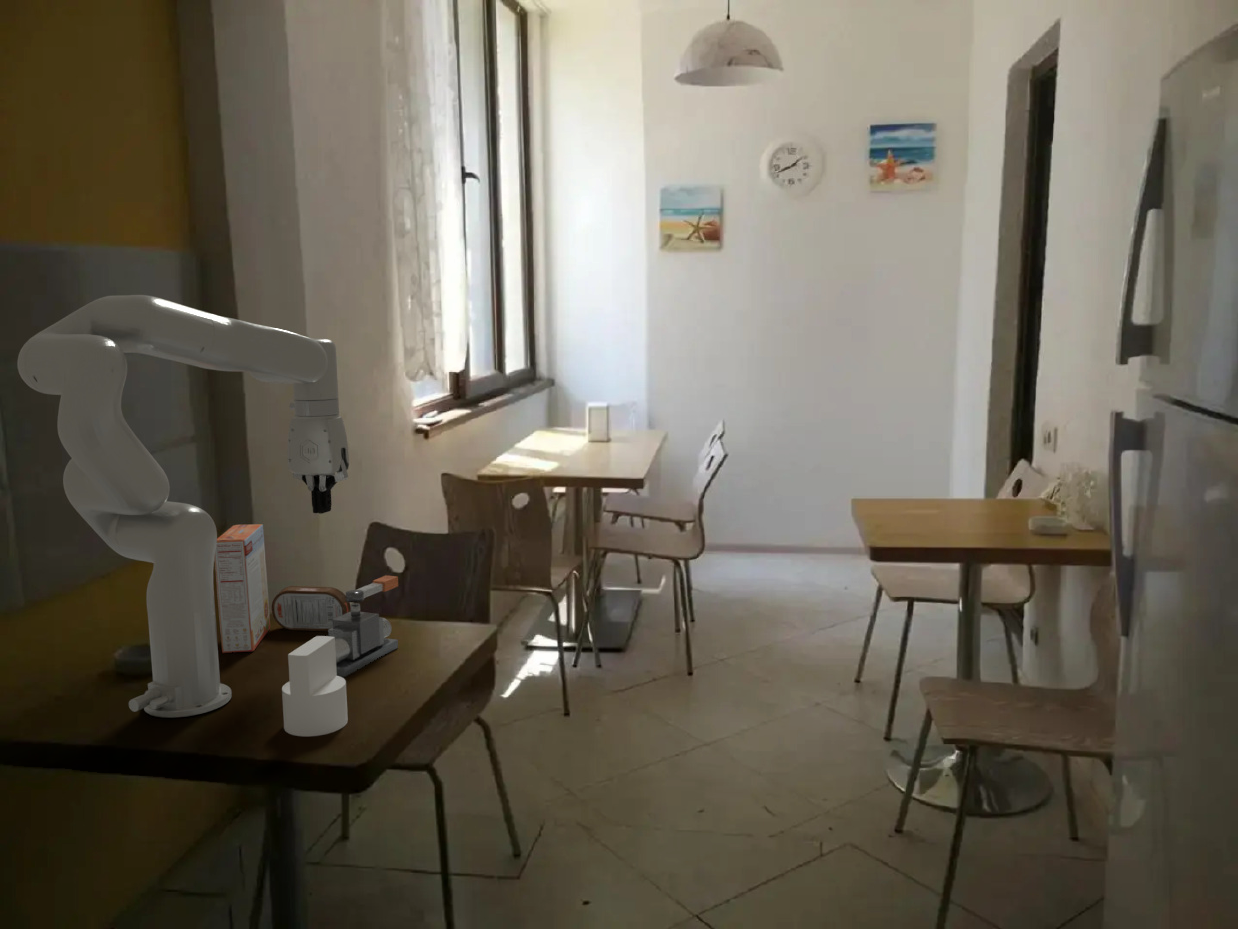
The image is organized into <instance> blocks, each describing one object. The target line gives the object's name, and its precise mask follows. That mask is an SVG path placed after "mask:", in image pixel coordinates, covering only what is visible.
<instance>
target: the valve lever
mask: <svg viewBox="0 0 1238 929" xmlns="http://www.w3.org/2000/svg"><path fill="white" fill-rule="evenodd" d="M398 587H399V577H398V576H394V575H383V576H381V577H379V578H377V579H374V580H372V583H370V584H368V585H367V584H366V585H364V586H362V587H360V588H358V589H351V590H347V591H346V592H345V595H346V601H347V602H350V603H360V602H363V601H364V600H365V598H368V597H370V596H373V595H375V594H378V593H380V592H383V593H384V592H385V593H386V592H387V591H388V592H389V591H391V590H393V589H395V588H398Z"/></svg>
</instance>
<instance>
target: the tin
mask: <svg viewBox="0 0 1238 929" xmlns="http://www.w3.org/2000/svg"><path fill="white" fill-rule="evenodd" d="M271 602H272V603H271V613H272V617H273V619H274V620H275V622H276V623H277V624H278V625H279V626H280V627H282V628H283V629H285V630H289V631H305V632H306V631H308V632H309V631H311V632H313V631H314V632H328V630H329V629H331V628H333V619H335V618H337V617H339V616H342V615H344V614H346V613H348V612H351V602H347V601H346V593H344V592H343V591H342V590H340V589H338V588H335V587H332V586H313V585H312V586H309V585H307V586H306V585H290V586H287V587H285V588H283V589H281V590H280V591H279V593H278V594H277V595H275V596H274V598H273V599H272V601H271Z"/></svg>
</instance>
